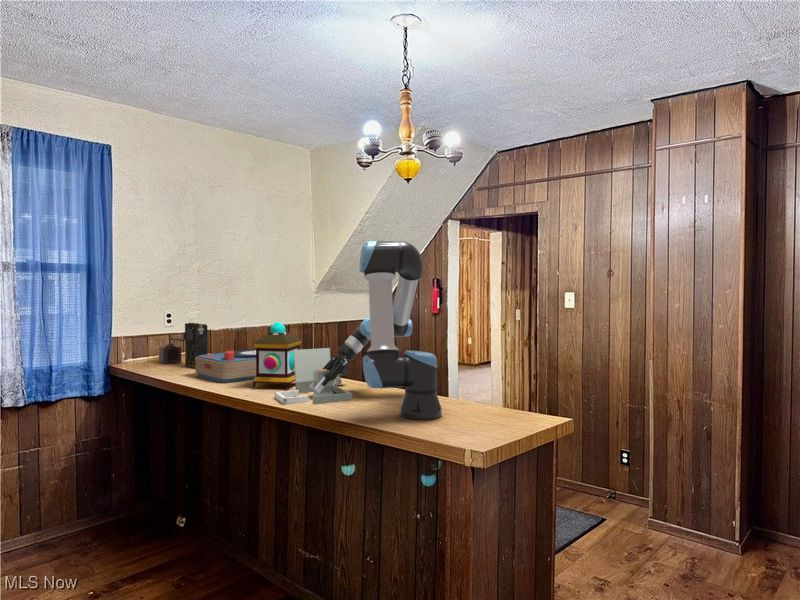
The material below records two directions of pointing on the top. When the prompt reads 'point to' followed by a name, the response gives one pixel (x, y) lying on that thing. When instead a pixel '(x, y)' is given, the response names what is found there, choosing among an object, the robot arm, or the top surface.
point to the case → (304, 374)
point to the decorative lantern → (276, 357)
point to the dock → (290, 397)
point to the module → (318, 378)
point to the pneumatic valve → (342, 373)
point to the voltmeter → (195, 342)
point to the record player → (227, 366)
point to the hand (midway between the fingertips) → (314, 389)
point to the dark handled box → (170, 352)
